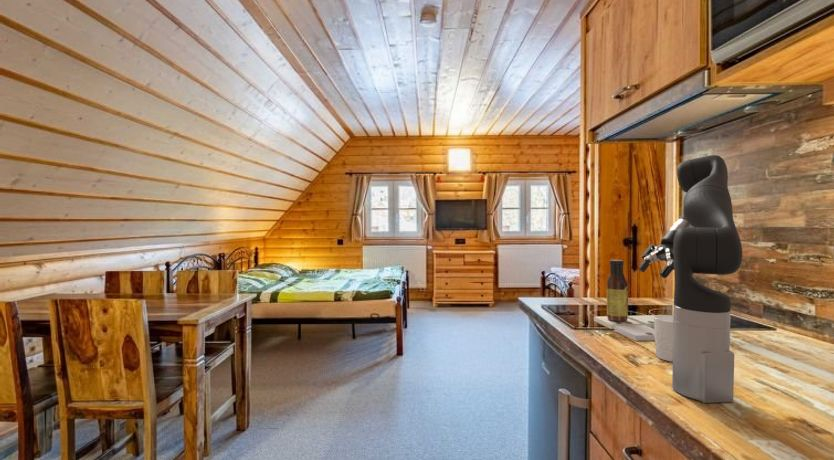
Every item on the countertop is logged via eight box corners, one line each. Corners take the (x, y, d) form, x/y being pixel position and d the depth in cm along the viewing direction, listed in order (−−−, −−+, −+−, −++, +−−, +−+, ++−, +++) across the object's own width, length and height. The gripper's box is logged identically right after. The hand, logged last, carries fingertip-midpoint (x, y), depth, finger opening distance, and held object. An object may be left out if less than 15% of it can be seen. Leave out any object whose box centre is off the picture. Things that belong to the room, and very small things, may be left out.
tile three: (675, 327, 127) (675, 322, 126) (646, 328, 126) (646, 322, 126) (654, 319, 136) (654, 314, 136) (626, 320, 136) (627, 315, 135)
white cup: (690, 356, 100) (691, 317, 99) (690, 366, 93) (691, 324, 93) (654, 350, 104) (655, 313, 104) (652, 359, 98) (652, 319, 97)
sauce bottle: (631, 322, 126) (632, 261, 126) (612, 322, 126) (613, 261, 126) (621, 317, 133) (621, 259, 133) (602, 317, 133) (603, 259, 133)
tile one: (667, 339, 113) (668, 333, 113) (635, 340, 113) (635, 334, 112) (644, 330, 123) (644, 324, 123) (614, 330, 122) (614, 325, 122)
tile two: (640, 328, 125) (640, 322, 125) (610, 329, 124) (611, 323, 124) (621, 320, 135) (621, 315, 135) (593, 320, 134) (593, 316, 134)
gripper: (656, 226, 137) (628, 262, 136) (693, 231, 123) (663, 271, 122) (667, 239, 139) (640, 275, 138) (706, 246, 125) (676, 285, 124)
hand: (651, 273), depth 130 cm, fingers open, 8 cm apart
